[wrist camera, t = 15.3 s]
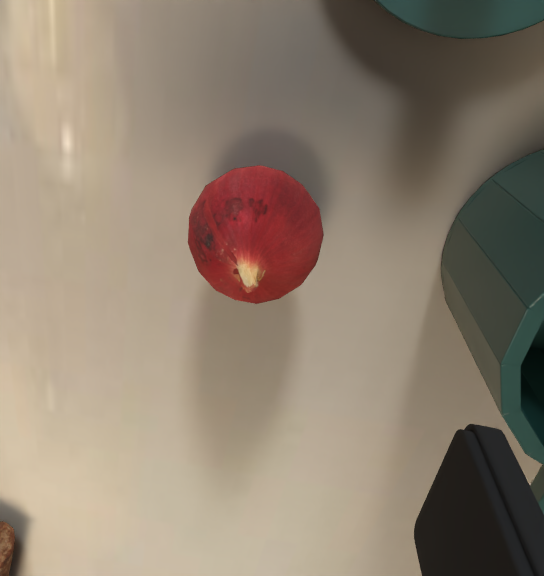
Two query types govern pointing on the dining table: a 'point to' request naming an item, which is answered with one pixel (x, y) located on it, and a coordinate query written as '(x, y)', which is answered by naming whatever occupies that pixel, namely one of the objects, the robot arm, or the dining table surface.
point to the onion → (255, 234)
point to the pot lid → (466, 16)
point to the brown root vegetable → (6, 547)
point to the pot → (504, 295)
